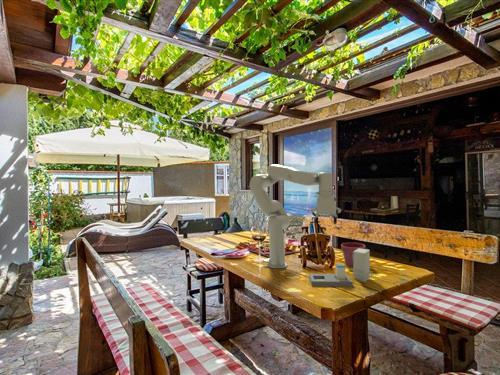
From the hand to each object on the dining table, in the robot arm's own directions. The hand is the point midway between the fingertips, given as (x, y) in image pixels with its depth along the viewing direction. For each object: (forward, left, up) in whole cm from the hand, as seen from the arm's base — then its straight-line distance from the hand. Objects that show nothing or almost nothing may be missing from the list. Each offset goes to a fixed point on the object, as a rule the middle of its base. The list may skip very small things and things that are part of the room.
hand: (326, 224), depth 168 cm
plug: (+4, -16, -28) cm, 32 cm away
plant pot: (+19, +17, -28) cm, 38 cm away
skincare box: (+17, -9, -28) cm, 34 cm away
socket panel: (-1, -16, -28) cm, 33 cm away
